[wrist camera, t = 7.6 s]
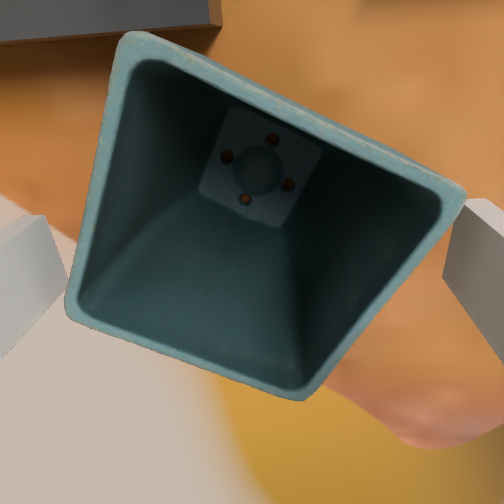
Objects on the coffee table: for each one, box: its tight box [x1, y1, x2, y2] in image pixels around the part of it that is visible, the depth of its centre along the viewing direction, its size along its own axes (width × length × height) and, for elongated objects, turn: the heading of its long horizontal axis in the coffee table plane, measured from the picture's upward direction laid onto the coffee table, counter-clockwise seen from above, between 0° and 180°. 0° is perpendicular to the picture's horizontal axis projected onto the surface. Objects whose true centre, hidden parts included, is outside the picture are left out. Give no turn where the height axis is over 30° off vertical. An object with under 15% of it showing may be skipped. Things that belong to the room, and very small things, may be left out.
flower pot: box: [64, 31, 467, 401], centre depth 14 cm, size 9×9×9 cm
